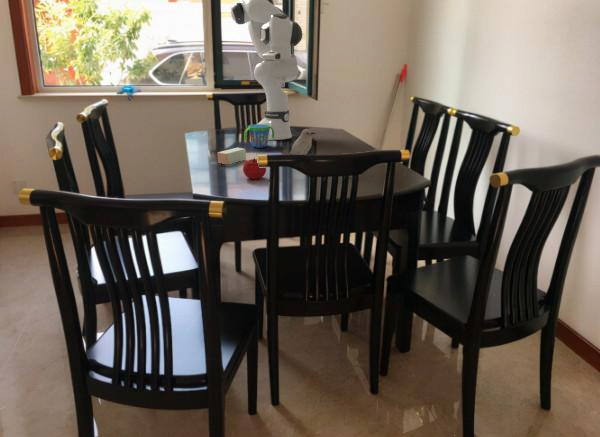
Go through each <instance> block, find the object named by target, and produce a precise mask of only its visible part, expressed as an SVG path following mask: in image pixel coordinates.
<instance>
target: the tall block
mask: <svg viewBox="0 0 600 437" xmlns="http://www.w3.org/2000/svg"><path fill="white" fill-rule="evenodd" d="M216 153H217V164H218V163H222V164H226V165H227V164H231V163H234V164H236V163H235V162H238V161H241V162H243V161H242V160H245V161H247V151H246V148H242V147H235V148H230V149H226V150H222V151H218V152H216ZM238 163H239V162H238ZM226 165H225V166H226ZM231 165H232V164H231ZM227 166H228V165H227Z"/></svg>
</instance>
